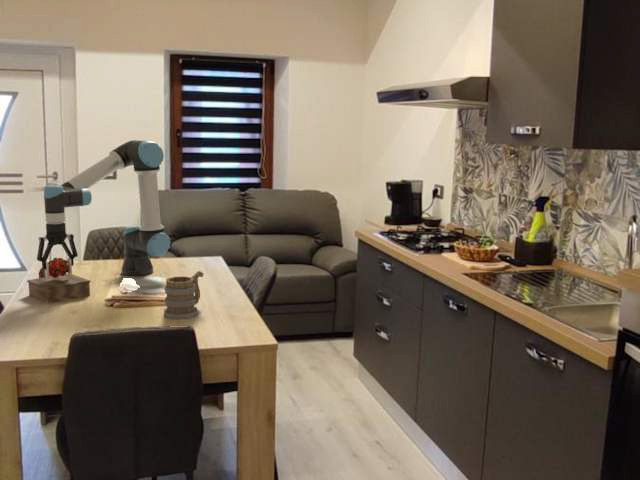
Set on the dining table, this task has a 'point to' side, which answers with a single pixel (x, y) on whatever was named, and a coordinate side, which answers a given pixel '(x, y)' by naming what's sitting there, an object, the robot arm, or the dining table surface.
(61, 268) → the dragon fruit
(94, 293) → the dining table surface
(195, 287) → the tankard
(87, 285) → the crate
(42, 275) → the tin
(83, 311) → the dining table surface
